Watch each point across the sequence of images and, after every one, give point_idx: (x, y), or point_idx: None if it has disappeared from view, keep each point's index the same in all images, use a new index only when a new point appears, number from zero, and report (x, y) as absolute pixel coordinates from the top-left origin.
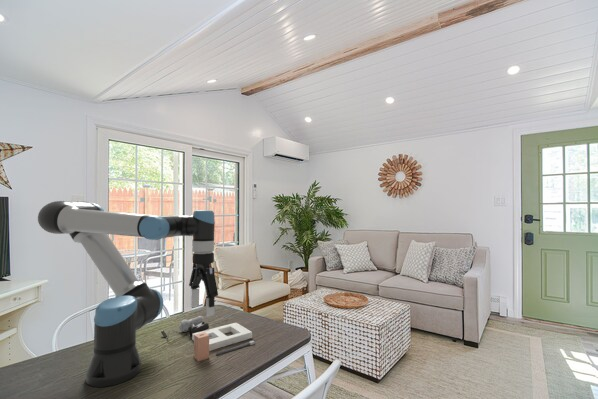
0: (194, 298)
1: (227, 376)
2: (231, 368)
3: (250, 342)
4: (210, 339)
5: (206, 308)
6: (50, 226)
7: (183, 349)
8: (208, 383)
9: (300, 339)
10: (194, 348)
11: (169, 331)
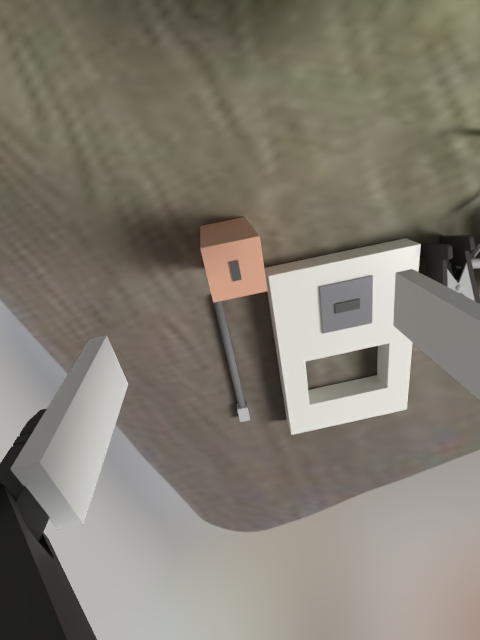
0: (440, 322)
1: (44, 298)
2: (97, 321)
3: (240, 410)
4: (314, 301)
5: (76, 375)
6: None
7: (337, 188)
8: (10, 229)
9: (203, 514)
10: (242, 224)
11: None
